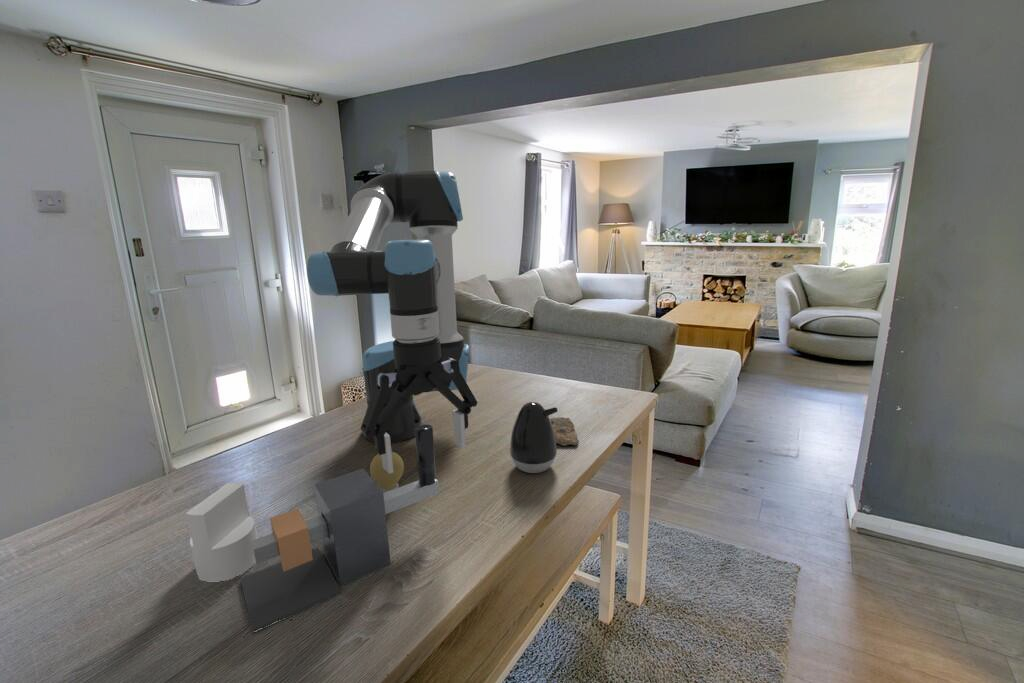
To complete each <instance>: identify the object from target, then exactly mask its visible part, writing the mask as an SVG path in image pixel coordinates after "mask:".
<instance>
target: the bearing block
mask: <svg viewBox="0 0 1024 683" xmlns="http://www.w3.org/2000/svg"><path fill="white" fill-rule="evenodd" d="M313 486H314V487H313V488H314V494H315V500H316V501H315V503H316V506H317V508H316V509H317V514H318V516H317V517H319V516H321V515H324V516H325V518H326V520H327V522H328V529H329V536H328V537H326V538H323V539H321V542H322V547H323V548H322V549H323V555H324V556H325V558H326V561H327V562H328V564H329V566H330V568H331V570H332V572H333V574H334V575H335V577H336V580H337V582H338V583H339V585H340V587H342V586H344V585H347V584H349V583H350V582H353V581H355V580H357V579H360V578H362V577H364V576H366V575H368V574H371V573H373V572H375V571H377V570H379V569H382V568H384V567H385V566H389V565H390V564H391V563H392V562H391V555H390V553H391V552H390V544H389V536H388V535H389V533H388V525H387V514H385V504H384V495H383V491H382V490H381V489H380V487H379V486H380V485H379V484H378V483H376V482H375V481H374V480H373V478H372V476H371V475H370V474H368V472H367V471H366V470H365V468H360V469H358V470H354V471H351V472H348V473H346V474H343V475H339V476H336V477H333V478H330V479H326V480H324V481H320V482H317V483H314V484H313Z"/></svg>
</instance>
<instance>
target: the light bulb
mask: <svg viewBox="0 0 1024 683" xmlns="http://www.w3.org/2000/svg"><path fill="white" fill-rule="evenodd" d="M391 453H392V463H393V473H390V474H389V473H388V472H387V471H386V470H385V469H384V468H383V465H382V455H379V454H378V453H377V454H376V455H375V456H374V457H373V458H372V459H371V462H370V466H369V472H370V477H371V478H372V479H373V480H374V482H375V483H376V484H377V485H378V486H379V487H380V489H381V490H382V491H383V493H385V492H388V491H391V490H393V489H396V488H399V487H400V486H399V481H400V479H401V477H402V476H403V474H404V471H405V470H404V469H405V464H404V461H403V459H402V457H401V456H400V455H399V454H398V453H397V452H395V451H391Z"/></svg>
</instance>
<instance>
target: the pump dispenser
mask: <svg viewBox="0 0 1024 683" xmlns="http://www.w3.org/2000/svg"><path fill="white" fill-rule="evenodd" d="M557 412H558V408H557V407H550V408H548V409H545V408H544V406H543V405H542V404H540V403H539V402H536V401H530V402H527V403H525V404H524V405H522V407H521V408H520V409H519V411H518V414H517V416H516V418H515V420H514V422H513V423H514V424H513V426H512V427H513V428H512V429H511V436H510V443H509V455H510V456H511V458H512V461H513V463H514V465H515V466H516V467H517V468H518V469H519V470H521V472H525V473H528V474H540V473H543V472H545V471H547V470H548V469H549V468H550V467H551V466H552V465H553V463H554V461H555V458H556V456H557V452H558V449H557V443H556V439H555V434H554V430H553V426H552V423H551V421H550V419H551V418H550V417H549V416H552V415H553V414H556V413H557Z"/></svg>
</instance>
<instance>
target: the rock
mask: <svg viewBox="0 0 1024 683" xmlns="http://www.w3.org/2000/svg"><path fill="white" fill-rule="evenodd" d="M550 421H551V423H552V426H553V430H554V434H555V439H556V444H558V445H561V446H563V447H565V446H569V445H572V446H575V445H578V443H579V439H578V436H577V435H578V433H577V432H576V429H575V425H574V422H573V421H572V420H571V418H570V417H567V418H565V417H552V418H550Z"/></svg>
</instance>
